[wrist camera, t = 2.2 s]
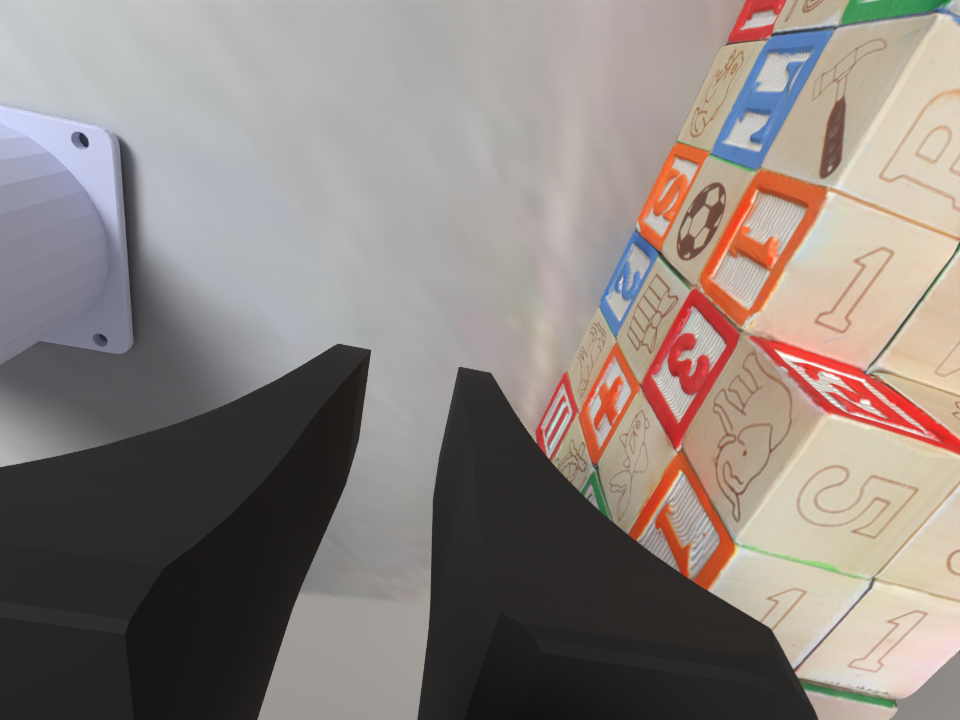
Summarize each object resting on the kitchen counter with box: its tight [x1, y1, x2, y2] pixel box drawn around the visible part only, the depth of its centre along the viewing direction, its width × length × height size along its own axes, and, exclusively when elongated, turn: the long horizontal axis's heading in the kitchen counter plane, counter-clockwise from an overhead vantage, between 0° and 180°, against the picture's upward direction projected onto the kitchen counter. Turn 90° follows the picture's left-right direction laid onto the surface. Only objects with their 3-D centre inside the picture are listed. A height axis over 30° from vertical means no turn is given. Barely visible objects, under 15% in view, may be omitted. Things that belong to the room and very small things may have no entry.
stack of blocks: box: [532, 0, 960, 720], centre depth 15 cm, size 21×6×12 cm, turn 161°
